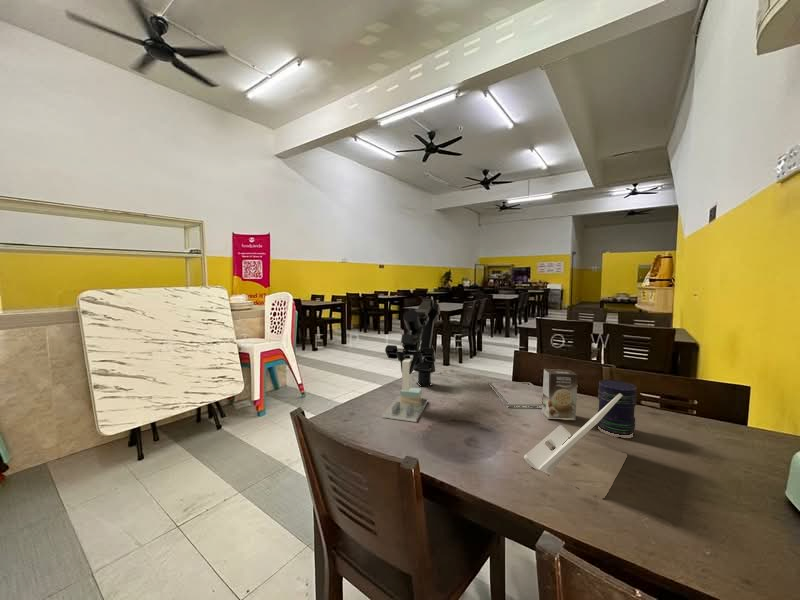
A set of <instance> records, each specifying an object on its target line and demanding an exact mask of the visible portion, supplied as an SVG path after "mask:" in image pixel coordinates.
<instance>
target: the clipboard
mask: <svg viewBox="0 0 800 600" xmlns="http://www.w3.org/2000/svg"><path fill="white" fill-rule="evenodd" d="M492 382H493V381H488V382H487V384H488V383H489V384H490V385H491V386H492V387H493V389H494V390H495V391H496V392H497V394H498V395H499V396H500V398H501V399H502V400H503V402H504V403H505V404H506V406H509V407H514V406H515V407H516V406H520V407H522V406H527V407H528V406H529V407H537V406H538V407H539V406H542V404H508V402H507V401H506V400H505V399H504V398H503V396H502V395H501V394H500V393H499V392H498V391H497V389H496V388H495V387H494V386H493V385H492ZM499 382H500V383H502V382H503V381H499ZM509 382H510V383H522V384H528V385H532V386H535V385H534V384H533V383H531V382H527V381H525V382H521V381H516V382H515V381H512V382H511V381H509ZM503 402H502V403H503ZM506 406H505V407H506Z"/></svg>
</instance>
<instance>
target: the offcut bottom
mask: <svg viewBox="0 0 800 600" xmlns="http://www.w3.org/2000/svg"><path fill="white" fill-rule="evenodd" d="M400 396H401V395H400ZM421 398H422V394H421V395H420V397H419V398H413V397H404V396H401V401H403V402H411V403H419V402H420V400H421Z"/></svg>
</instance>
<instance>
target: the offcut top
mask: <svg viewBox="0 0 800 600" xmlns="http://www.w3.org/2000/svg"><path fill="white" fill-rule="evenodd" d="M422 393H423V392H422V388H420V387H418V388H417V387H411V389H410V390H409V391H405V390H402V389H401V390H400V396H404V397H413V398H419V397H420V395H421V394H422ZM421 396H422V395H421Z"/></svg>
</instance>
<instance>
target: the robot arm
mask: <svg viewBox="0 0 800 600" xmlns="http://www.w3.org/2000/svg"><path fill="white" fill-rule="evenodd" d="M440 314H441V307H440V305H439V303H437V302H435V301H434V299H432V298H431V299H430V298H423V299H422V300H421V304H420V305H419V306H418V307H417V309H416V308H410V307H409V310H407V311H405V312H404V313H403V317H402V318H403V321H404V325H405V328H406V329H407V333H402V334H401V338H400V343H401V346H402V347H397V344H395V345H393V344H387V345H386V346H385V349H384V351H385V354H386V356H387V358H388V359H390V360H391V359H393V360H396V359H397V360H398V361H399V362H400V370H401V372H402V361H403V360H405V359H406V356H409V357H410V356H411V357H412V363H411V367H410V371H409V374H411V373H412V374H413V372H417V381H418V383H419V384H420V385H421V386H423V387H429V386H428V385H430V384H431V383H432V381H431V380H432V376H431V375H432V374H433V373H435V372H436V365H435V362H436V360H437V355H436V351H435V348H434V347H432V341H433V332H434V326H435V323H436V322H437V321H438V320H439V316H440ZM420 385H419V386H420ZM419 386H418V387H419Z"/></svg>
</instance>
